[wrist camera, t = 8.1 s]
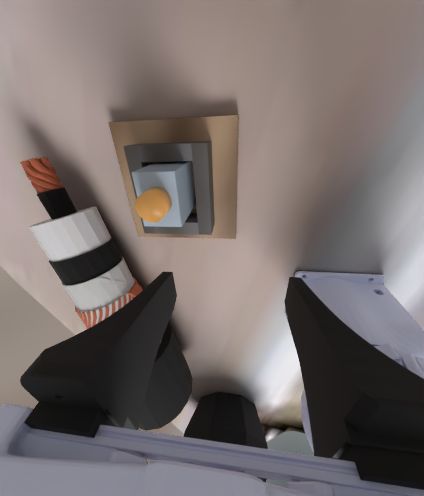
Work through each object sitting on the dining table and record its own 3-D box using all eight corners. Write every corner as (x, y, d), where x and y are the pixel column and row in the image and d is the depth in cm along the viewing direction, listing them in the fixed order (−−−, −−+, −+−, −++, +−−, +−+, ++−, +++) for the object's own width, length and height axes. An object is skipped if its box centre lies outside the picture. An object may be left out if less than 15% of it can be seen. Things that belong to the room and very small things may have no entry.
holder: (238, 115, 16) (237, 113, 14) (236, 234, 22) (235, 251, 19) (114, 122, 18) (89, 121, 15) (142, 232, 24) (127, 247, 21)
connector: (192, 159, 18) (167, 176, 12) (196, 203, 20) (176, 236, 14) (160, 160, 18) (119, 177, 12) (166, 203, 20) (135, 235, 14)
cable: (101, 153, 24) (74, 136, 15) (186, 351, 37) (199, 407, 28) (7, 176, 22) (-92, 173, 13) (131, 376, 35) (126, 446, 26)
